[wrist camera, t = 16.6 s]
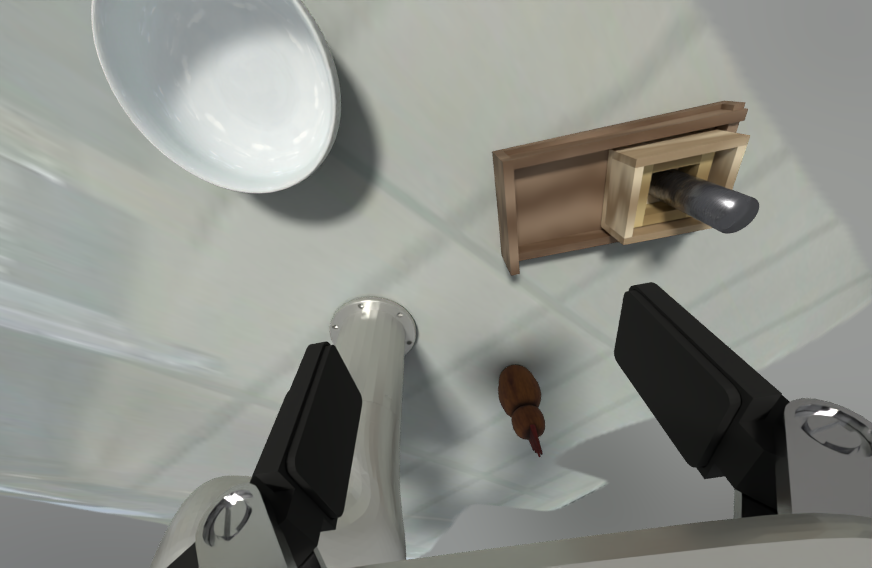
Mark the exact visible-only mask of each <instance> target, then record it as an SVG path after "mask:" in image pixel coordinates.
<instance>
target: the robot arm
mask: <svg viewBox="0 0 872 568" xmlns="http://www.w3.org/2000/svg"><path fill="white" fill-rule="evenodd" d="M330 337H331V340H332V342H333V343H334V345H330V343H329V342H321V343H316V344H310V345H309V346H308V347H307V349H306V352H305V354H304V357H303V359H302V361H301V364H300V366H299V369H298V371H297V374H296V376H295V378H294V381H293V383H292V386H291V388H290V390H289V391H288V393H287V395H286V396H285V399H284V401H283V404H282V406H281V408H280V411H279V413H278V416H277V418H276V420H275V423H274V425H273V427H272V430H271V432H270V435H269V437H268V439H267V442H266V444H265V447H264V449H263V451H262V454H261V456H260V459H259V461H258V463H257V466H256V468H255V471H254V473H253V475H252V477H249V476H222V477H218V478H214V479H212V480H209V481H207V482H205V483H204V484H202V485H201V486H199V487H198V488H197V489H196V490H195V491H194V492H193V493H191V494H190V495H189V497H188V498H187V499H186V500H185V501H184V503H183V504H182V505H181V507H180V508H179V510H178V511H177V513H176V514H175V516H174V517H173V519H172V521H171V523H170V525H169V527H168V528H167V530H166V532H165V534H164V536H163V538H162V540H161V542H160V544H159V547H158V549H157V551H156V553H155V556H154V558H153V561H152V563H151V565H150V568H872V423H871V422H870V421H868V420H867V419H865V418H864V417H863V416H861V415H859V414H857V413H855V412H853V411H851V410H849V409H847V408H845V407H843V406H840V405H837V404H834V403H831V402H827V401H823V400H818V399H809V398H801V399H796V400H793V401H791V402H789V401H788V400H787V399H786V398H785V397H784V396H782V395H781V394H782V393H781V392H779V391H778V390H777V389H776V388H775V387H774V386H773V385H771V384H770V383H769V382H768V381H767V380H766V379H764V378H763V377H762V376H761V375H760V374H759V373H758V372H756V371H755V370H754V369H753V368H752V367H751V366H750V365H748V364H747V363H746V362H745V361H744V360H743V359H742V358H740V357H739V356H738V355H737V354H736V353H735V352H734V351H732V350H731V349H730V348H729V347H728V346H727V345H726V344H724V343H723V342H722V341H721V340H720V339H719V338H717V337H716V336H715V335H714V334H713V333H712V332H711V331H709V330H708V329H707V328H706V327H705V326H704V325H703V324H701V323H700V322H699V321H698V320H697V319H696V318H695V317H693V316H692V315H691V314H690V313H689V312H688V311H687V310H685V309H684V308H683V307H682V306H681V305H680V304H679V303H677V302H676V301H675V300H674V299H673V298H672V297H670V296H669V295H668V294H667V293H666V292H665V291H664V290H662V289H661V288H660V287H659V286H658V285H657V284H655V283H652V282H650V283H645V284H639V285H634V286H631V287H630V288H629V291H627V292H625V294H624V298H623V303H622V309H621V315H620V320H619V326H618V332H617V338H616V343H615V349H614V356H615V359H616V361H617V363H618V364H619V366H620V367H621V369H622V370H623V372H624V373H625V374H626V376H627V377H628V379H629V380H630V382H631V383H632V385H633V386H634V387H635V389H636V390H637V392H638V393H639V395H640V396H641V397H642V399H643V400H644V402H645V403H646V405H647V406H648V408H649V409H650V410H651V412H652V413H653V415H654V416H655V418H656V419H657V420H658V422H659V423H660V425H661V426H662V428H663V429H664V431H665V432H666V433H667V435H668V436H669V438H670V439H671V441H672V442H673V443H674V445H675V446H676V448H677V449H678V451H679V452H680V454H681V455H682V456H683V458H684V459H685V461H686V462H687V463H688V464H689V465H690V466H692V467H696V468H697V469H698V470H699V472H700V473H701V475H702V476H703V477H704V479H708V478H716V477H722V476H725V477H726V478H727V480H728V481H729V482H730V483H731V485H732V486H733V487H734V518H733V519H727V520H718V521H708V522H699V523H690V524H683V525H674V526H667V527H658V528H650V529H642V530H634V531H626V532H618V533H610V534H602V535H593V536H586V537H578V538H570V539H562V540H555V541H546V542H539V543H531V544H523V545H515V546H508V547H500V548H493V549H484V550H477V551H469V552H462V553H454V554H447V555H439V556H432V557H424V558H417V559H409V560H406V545H405V533H404V524H403V515H402V506H401V495H400V468H399V461H400V434H401V414H402V394H403V375H404V355H406V354H407V353H408V352H409V351H410V350H411V348H412V346H413V345H414V342H415V339H416V326H415V323H414V320H413V318H412V317H411V315H410V314H409V313H408V312H407V310H406V309H404V308H403V307H402V306H400V305H399V304H397V303H395V302H393V301H390V300H387V299H384V298H378V297H363V298H357V299H354V300H351V301H349V302H347V303H345V304H344V305H342V306H341V307H340V308H339V309H338V310H337V311H336V312H335V314H334V316H333V318H332V320H331V323H330Z"/></svg>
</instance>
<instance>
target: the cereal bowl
mask: <svg viewBox="0 0 872 568" xmlns="http://www.w3.org/2000/svg"><path fill="white" fill-rule="evenodd" d="M91 13H92V30H93V38H94V43H95V47H96V51H97V54H98V58H99V61H100V64H101V66H102V69H103V71H104V74H105V76H106V78H107V81H108V83H109V85H110V87H111V89H112V91H113V93H114V94H115V96H116V98H117V100H118V102H119V103H120V105H121V106H122V108H123V109H124V111H125V112H126V114H127V115H128V116H129V118H130V119H131V121H132V122H133V123H134V124H135V126H136V127H137V128H138V129H139V130H140V132H141V133H142V134H143V135H144V136H145V137H146V138H147V139H148V140H149V141H150V142H151V143H152V144H153V145H154V146H155V147H156V148H157V149H158V150H159V151H160V152H161V153H163V154H164V155H165V156H166V157H168V158H169V159H170V160H171V161H173V162H174V163H176V164H177V165H178V166H180V167H181V168H183V169H184V170H186V171H188V172H189V173H191V174H193V175H195V176H196V177H198V178H200V179H202V180H204V181H206V182H209V183H211V184H213V185H216V186H219V187H222V188H225V189H229V190H233V191H238V192H244V193H271V192H277V191H281V190H284V189H287V188H290V187H292V186H294V185H297V184H299V183H300V182H302V181H303V180H305V179H306V178H308V177H309V176H310V175H311V174H313V173H314V172H315V171H316V170H317V169H318V168H319V166H321V164H322V163H323V162H324V160H325V158H326V157H327V155H328V154H329V152H330V150H331V149H332V146H333V144H334V142H335V139H336V137H337V132H338V130H339V125H340V118H341V91H340V84H339V78H338V75H337V70H336V66H335V63H334V61H333V57H332V55H331V51H330V48H329V47H328V44H327V41H326V40H325V38H324V35H323V33H322V32H321V30H320V28H319V26H318V25H317V23H316V21H315V19H314V18H313V17H312V15H311V14H310V12H309V10H308V9H307V8H306V7H305V5H304V3H303V2H302V1H301V0H92V9H91Z"/></svg>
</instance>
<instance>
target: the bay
mask: <svg viewBox="0 0 872 568" xmlns="http://www.w3.org/2000/svg"><path fill="white" fill-rule="evenodd" d="M744 106H745V102H733V101H721V102H717V103H712V104H707V105H703V106H698V107H694V108H689V109H685V110H680V111H675V112H671V113H666V114H662V115H657V116H653V117H648V118H643V119H639V120H634V121H630V122H625V123H621V124H616V125H611V126H607V127H602V128H598V129H593V130H589V131H584V132H579V133H575V134H570V135H566V136H561V137H557V138H552V139H548V140H543V141H538V142H534V143H529V144H525V145H520V146H516V147H511V148H506V149H502V150H497V151H493V152H492V153H493V164H494V175H495V186H496V197H497V209H498V220H499V231H500V242H501V253H502V257H503V259H504V261H505V263H506V265H507V268H508V270H509V272H510V274H511V275H516V274H520V271H519V261H522V260H527V259H532V258H538V257H543V256H548V255H553V254H558V253H563V252H569V251H574V250H579V249H584V248H589V247H595V246H600V245H605V244H610V243H615V242H619V241H618V240H616V239H615V238H614V237H613V236H612V235H610V234H609V233H608V232H607V231H606V230H604V229H603V228H602V227H601V220H602V211H603V202H604V192H605V183H606V174H607V164H608V155H609V149H613V148H617V147H622V146H627V145H631V144H636V143H641V142H645V141H650V140H655V139H659V138H664V137H669V136H673V135H678V134H683V133H687V132H692V131H697V130H701V129H706V128H711V129H717V130H722V131H728V132H734V133H736V131H737V128H738V125H739V122H740V121H744V120H745V117H746V114H747V111H748V109H745V108H744Z"/></svg>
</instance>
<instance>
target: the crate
mask: <svg viewBox="0 0 872 568" xmlns="http://www.w3.org/2000/svg"><path fill="white" fill-rule="evenodd" d="M749 138H750V135H745V134H739V133H734V132H728V131H722V130H717V129H711V128H706V129H701V130H697V131H692V132H687V133H683V134H678V135H673V136H669V137H664V138H659V139H655V140H650V141H645V142H641V143H636V144H631V145H627V146H622V147H617V148H613V149H609V155H608V164H607V174H606V183H605V192H604V202H603V211H602V220H601V227H602V228H603V229H604V230H606V231H607V232H608V233H609V234H610V235H612V236H613V237H614V238H615V239H616V240H618V241H619V242H620V243H621V244H623V245H627V244H632V243H637V242H642V241H647V240H653V239H658V238H663V237H668V236H673V235H679V234H684V233H689V232H694V231H699V230H705V229H710V228H712V227H710V226H708V225H707V224H705V223H703V222H701V221H699V220H697V219H695V218H693V217H691V216H689V215H687V214H685V213H683V212H681V211H679V210H678V209H676V208H674V207H672V206H670V205H668V204H666V203H664V202H662V201H660V200H658V199H656V198H654V197H652V196H650V195H649V194H648V192H649V187H650V182H651V176H652V173H655V172H659V171H664V170H669V169H676V170H679V171H681V172H684V173H687V174H690V175H692V176H695V177H698V178H701V179H703V180H706V181H709V182H712V183H714V184H717V185H720V186H723V187H725V188H728V189H731V190H732V189H733V186H734V183H735V180H736V177H737V174H738V171H739V168H740V165H741V162H742V159H743V156H744V153H745V150H746V147H747V144H748V141H749Z"/></svg>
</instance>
